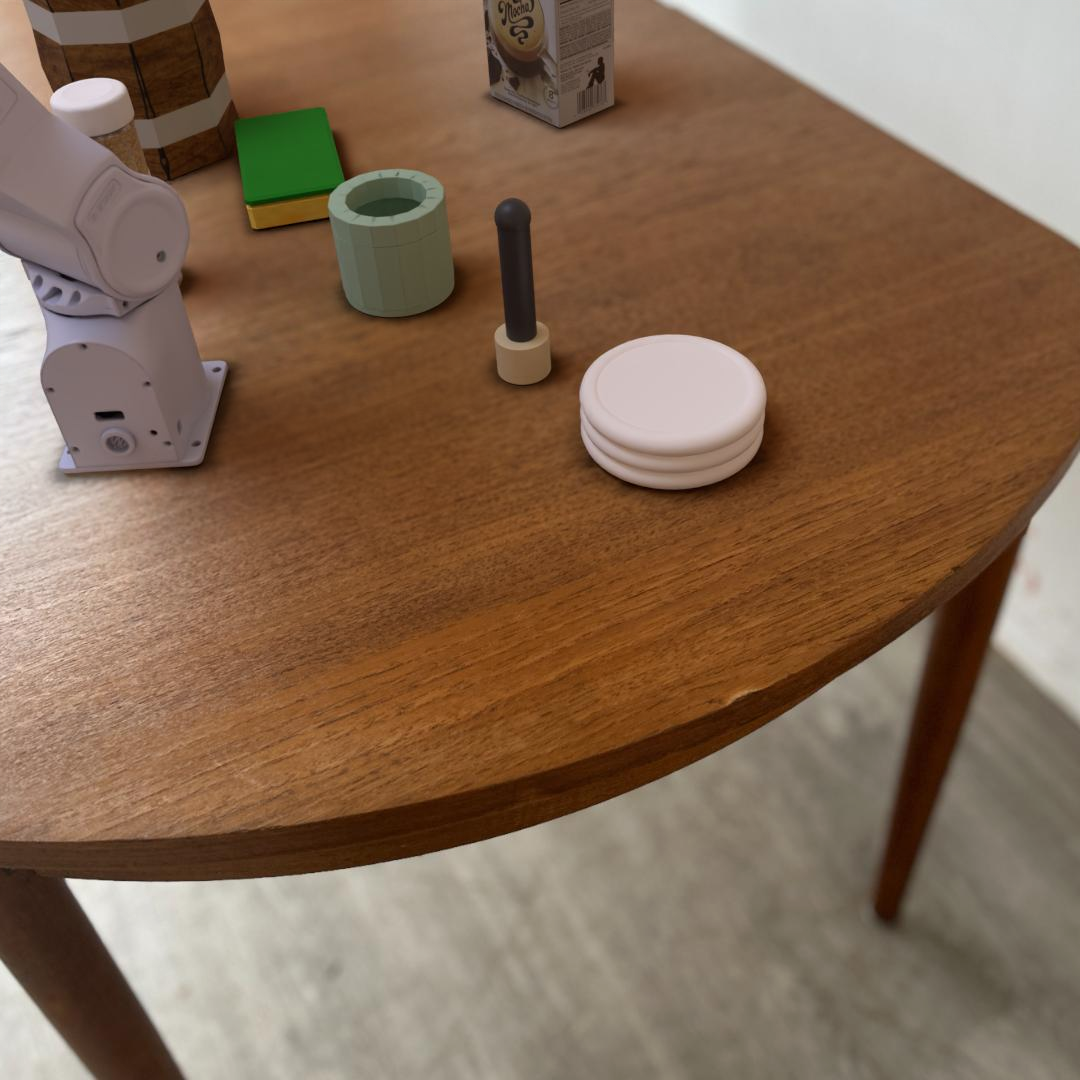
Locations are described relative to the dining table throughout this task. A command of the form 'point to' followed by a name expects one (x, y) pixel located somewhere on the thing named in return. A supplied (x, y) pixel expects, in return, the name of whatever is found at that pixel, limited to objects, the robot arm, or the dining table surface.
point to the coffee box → (551, 56)
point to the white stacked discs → (672, 411)
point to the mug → (147, 71)
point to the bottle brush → (519, 300)
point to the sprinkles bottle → (103, 118)
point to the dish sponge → (287, 166)
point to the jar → (392, 242)
